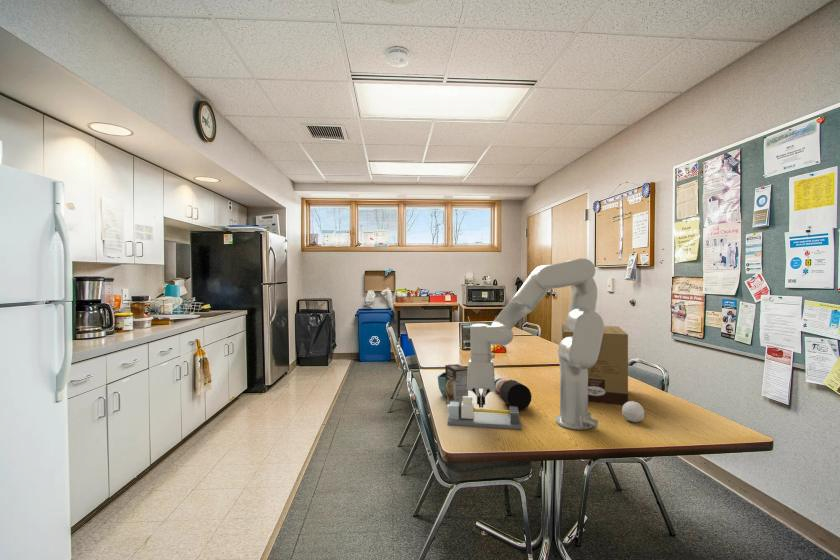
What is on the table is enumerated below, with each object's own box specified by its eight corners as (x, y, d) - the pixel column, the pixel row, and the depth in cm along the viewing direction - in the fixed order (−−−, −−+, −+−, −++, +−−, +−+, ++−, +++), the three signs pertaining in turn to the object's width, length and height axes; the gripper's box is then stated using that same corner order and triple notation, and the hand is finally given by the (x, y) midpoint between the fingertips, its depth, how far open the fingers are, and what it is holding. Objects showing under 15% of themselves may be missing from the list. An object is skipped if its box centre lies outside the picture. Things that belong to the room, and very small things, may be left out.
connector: (462, 414, 141) (461, 402, 141) (461, 419, 136) (461, 406, 136) (448, 413, 142) (448, 401, 142) (446, 418, 137) (446, 405, 137)
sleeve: (473, 413, 140) (473, 395, 140) (473, 418, 135) (473, 399, 135) (462, 413, 141) (462, 394, 141) (461, 418, 136) (461, 398, 136)
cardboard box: (618, 389, 176) (619, 326, 176) (628, 406, 152) (628, 333, 152) (561, 383, 185) (562, 323, 185) (562, 399, 161) (562, 330, 161)
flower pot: (443, 390, 174) (443, 371, 174) (461, 393, 171) (461, 373, 171) (437, 396, 166) (437, 376, 166) (456, 398, 163) (455, 378, 163)
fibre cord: (518, 413, 135) (518, 410, 135) (518, 414, 134) (518, 411, 134) (457, 410, 139) (457, 406, 139) (457, 411, 138) (457, 408, 138)
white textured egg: (617, 419, 138) (617, 400, 138) (630, 416, 141) (630, 397, 141) (642, 429, 129) (642, 408, 129) (656, 426, 132) (656, 405, 132)
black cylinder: (499, 395, 180) (507, 376, 181) (525, 414, 147) (535, 390, 148) (481, 386, 180) (489, 368, 181) (503, 403, 146) (513, 379, 148)
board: (518, 418, 140) (518, 405, 140) (521, 429, 130) (521, 415, 130) (450, 414, 144) (450, 401, 144) (447, 424, 134) (447, 410, 134)
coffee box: (444, 402, 158) (444, 365, 158) (458, 400, 161) (457, 363, 160) (455, 409, 150) (454, 369, 149) (468, 407, 152) (468, 368, 152)
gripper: (500, 355, 139) (501, 404, 140) (461, 354, 142) (461, 402, 142) (501, 360, 132) (502, 411, 132) (459, 358, 135) (460, 408, 135)
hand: (481, 406), depth 137 cm, fingers closed
